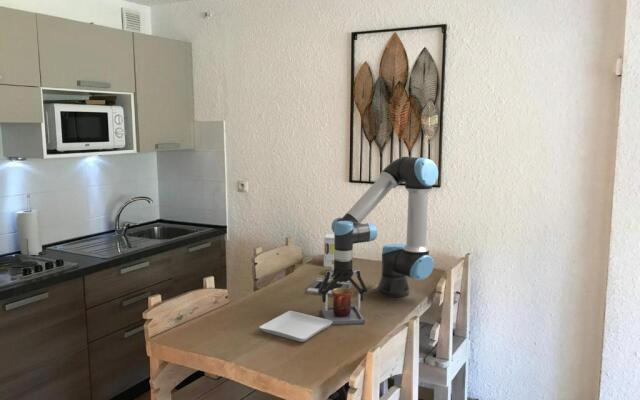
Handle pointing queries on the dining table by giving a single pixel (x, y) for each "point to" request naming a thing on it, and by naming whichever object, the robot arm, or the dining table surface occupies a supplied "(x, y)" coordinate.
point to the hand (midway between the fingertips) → (342, 309)
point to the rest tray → (351, 319)
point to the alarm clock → (318, 282)
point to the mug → (342, 301)
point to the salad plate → (295, 326)
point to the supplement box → (328, 250)
